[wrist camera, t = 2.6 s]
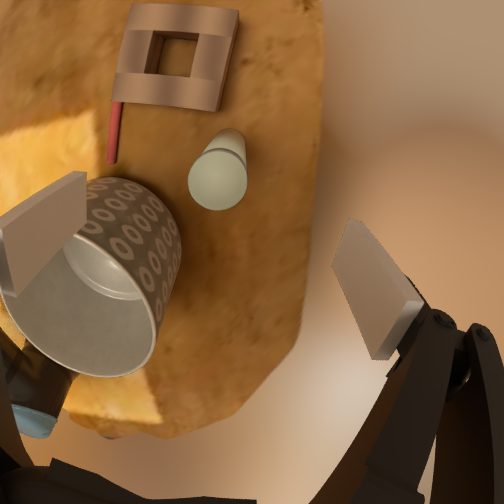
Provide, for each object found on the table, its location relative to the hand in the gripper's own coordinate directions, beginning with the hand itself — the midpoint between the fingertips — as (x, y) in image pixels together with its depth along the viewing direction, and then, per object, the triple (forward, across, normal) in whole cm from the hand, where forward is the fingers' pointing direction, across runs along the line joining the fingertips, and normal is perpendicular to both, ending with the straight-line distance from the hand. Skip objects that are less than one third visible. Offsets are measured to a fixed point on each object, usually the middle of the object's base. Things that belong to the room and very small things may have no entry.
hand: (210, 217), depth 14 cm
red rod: (+25, -15, +1) cm, 29 cm away
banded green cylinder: (+25, 0, 0) cm, 25 cm away
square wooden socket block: (+25, -8, +10) cm, 28 cm away
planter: (+25, -13, -15) cm, 32 cm away
